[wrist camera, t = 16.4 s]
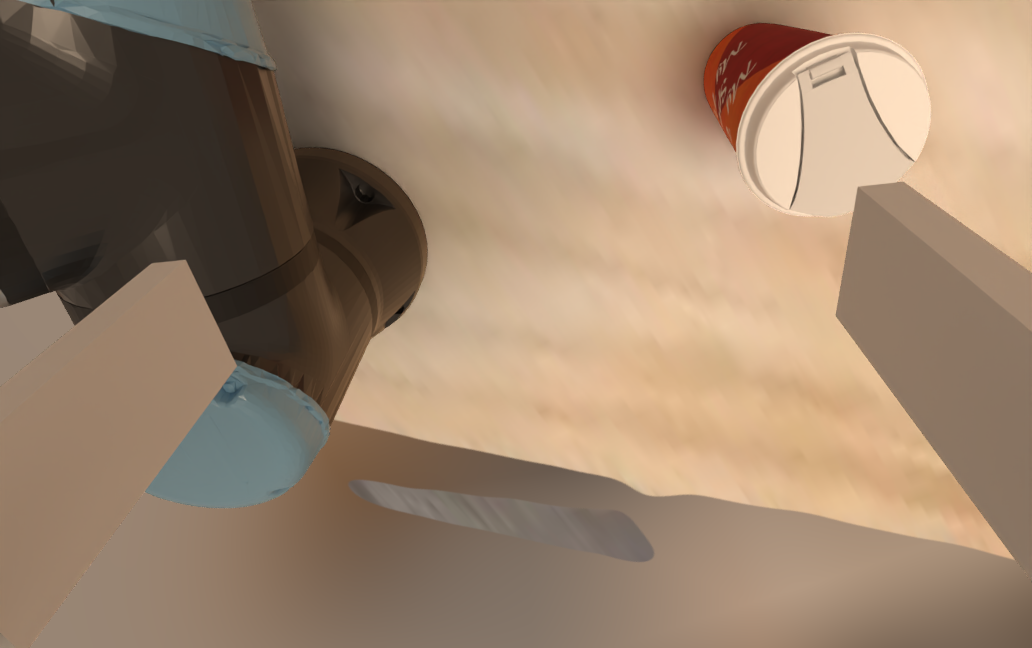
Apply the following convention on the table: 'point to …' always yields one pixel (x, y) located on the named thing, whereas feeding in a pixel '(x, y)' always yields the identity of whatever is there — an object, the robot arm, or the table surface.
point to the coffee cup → (817, 113)
